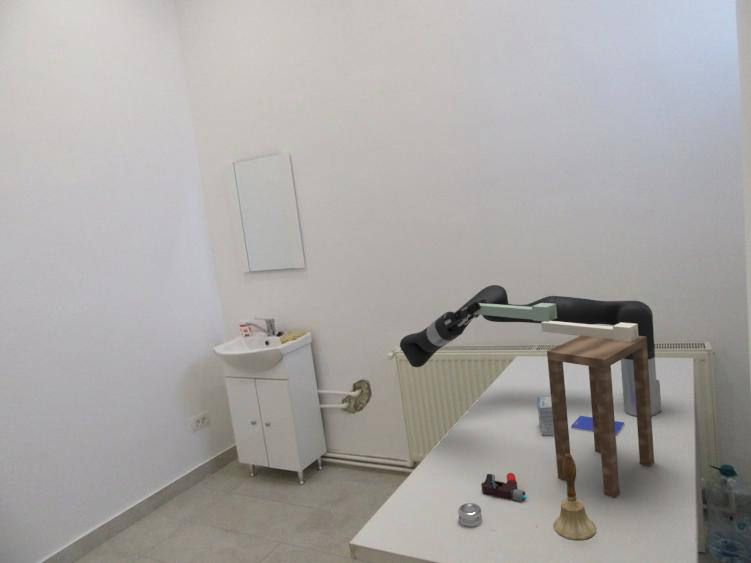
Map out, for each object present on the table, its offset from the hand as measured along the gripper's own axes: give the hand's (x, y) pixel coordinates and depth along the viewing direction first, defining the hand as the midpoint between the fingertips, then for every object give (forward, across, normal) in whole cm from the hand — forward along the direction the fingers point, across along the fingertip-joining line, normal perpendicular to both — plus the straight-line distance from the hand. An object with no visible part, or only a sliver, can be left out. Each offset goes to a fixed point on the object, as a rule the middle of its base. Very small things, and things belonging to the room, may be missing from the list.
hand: (482, 303), depth 142 cm
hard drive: (-8, -27, -44) cm, 52 cm away
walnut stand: (+4, -6, -50) cm, 51 cm away
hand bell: (+9, +19, -53) cm, 57 cm away
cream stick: (+15, -12, -19) cm, 27 cm away
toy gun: (-8, +15, -44) cm, 47 cm away
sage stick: (+6, 0, -7) cm, 9 cm away
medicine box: (-17, -18, -38) cm, 46 cm away
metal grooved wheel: (-7, +30, -44) cm, 54 cm away
